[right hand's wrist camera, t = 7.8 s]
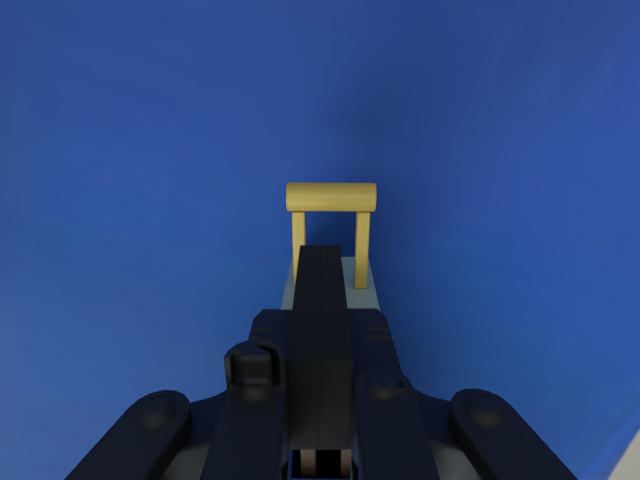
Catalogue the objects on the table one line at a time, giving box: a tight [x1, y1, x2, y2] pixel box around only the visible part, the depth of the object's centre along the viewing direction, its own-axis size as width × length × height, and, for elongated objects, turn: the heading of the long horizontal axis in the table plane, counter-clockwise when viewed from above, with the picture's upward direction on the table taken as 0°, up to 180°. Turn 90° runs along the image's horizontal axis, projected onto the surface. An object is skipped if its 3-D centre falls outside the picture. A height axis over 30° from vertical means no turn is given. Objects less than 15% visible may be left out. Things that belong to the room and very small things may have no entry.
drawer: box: [281, 182, 380, 479], centre depth 22 cm, size 23×4×7 cm, turn 0°
